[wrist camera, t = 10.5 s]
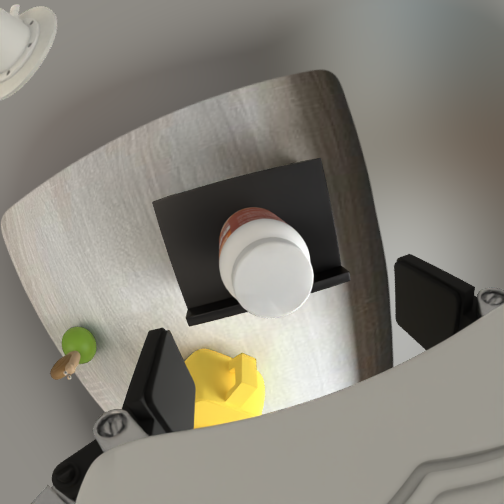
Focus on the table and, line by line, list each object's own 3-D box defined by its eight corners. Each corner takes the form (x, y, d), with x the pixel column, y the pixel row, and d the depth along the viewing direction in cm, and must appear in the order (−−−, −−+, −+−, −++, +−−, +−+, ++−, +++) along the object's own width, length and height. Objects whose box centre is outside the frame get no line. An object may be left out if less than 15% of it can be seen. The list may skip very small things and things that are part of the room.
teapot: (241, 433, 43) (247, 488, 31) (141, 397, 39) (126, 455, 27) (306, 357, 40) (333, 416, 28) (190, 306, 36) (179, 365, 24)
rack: (167, 196, 32) (146, 204, 23) (298, 161, 33) (328, 156, 23) (196, 287, 35) (189, 326, 26) (318, 254, 36) (350, 280, 26)
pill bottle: (214, 212, 25) (209, 236, 15) (280, 202, 26) (322, 219, 15) (225, 276, 27) (228, 338, 16) (288, 265, 27) (327, 319, 17)
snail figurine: (112, 340, 36) (83, 392, 25) (86, 355, 36) (57, 404, 25) (89, 311, 35) (51, 357, 23) (65, 328, 35) (28, 373, 23)
